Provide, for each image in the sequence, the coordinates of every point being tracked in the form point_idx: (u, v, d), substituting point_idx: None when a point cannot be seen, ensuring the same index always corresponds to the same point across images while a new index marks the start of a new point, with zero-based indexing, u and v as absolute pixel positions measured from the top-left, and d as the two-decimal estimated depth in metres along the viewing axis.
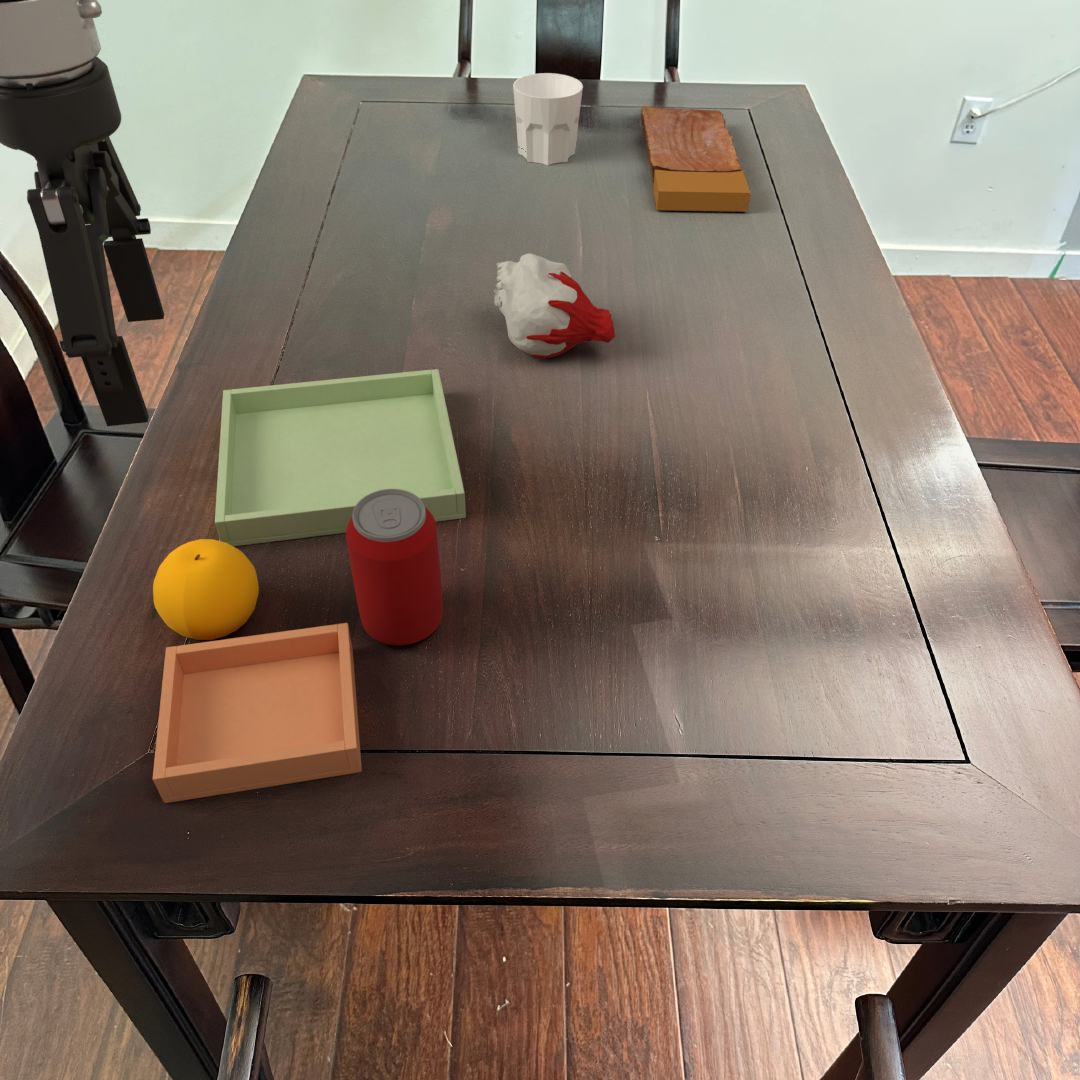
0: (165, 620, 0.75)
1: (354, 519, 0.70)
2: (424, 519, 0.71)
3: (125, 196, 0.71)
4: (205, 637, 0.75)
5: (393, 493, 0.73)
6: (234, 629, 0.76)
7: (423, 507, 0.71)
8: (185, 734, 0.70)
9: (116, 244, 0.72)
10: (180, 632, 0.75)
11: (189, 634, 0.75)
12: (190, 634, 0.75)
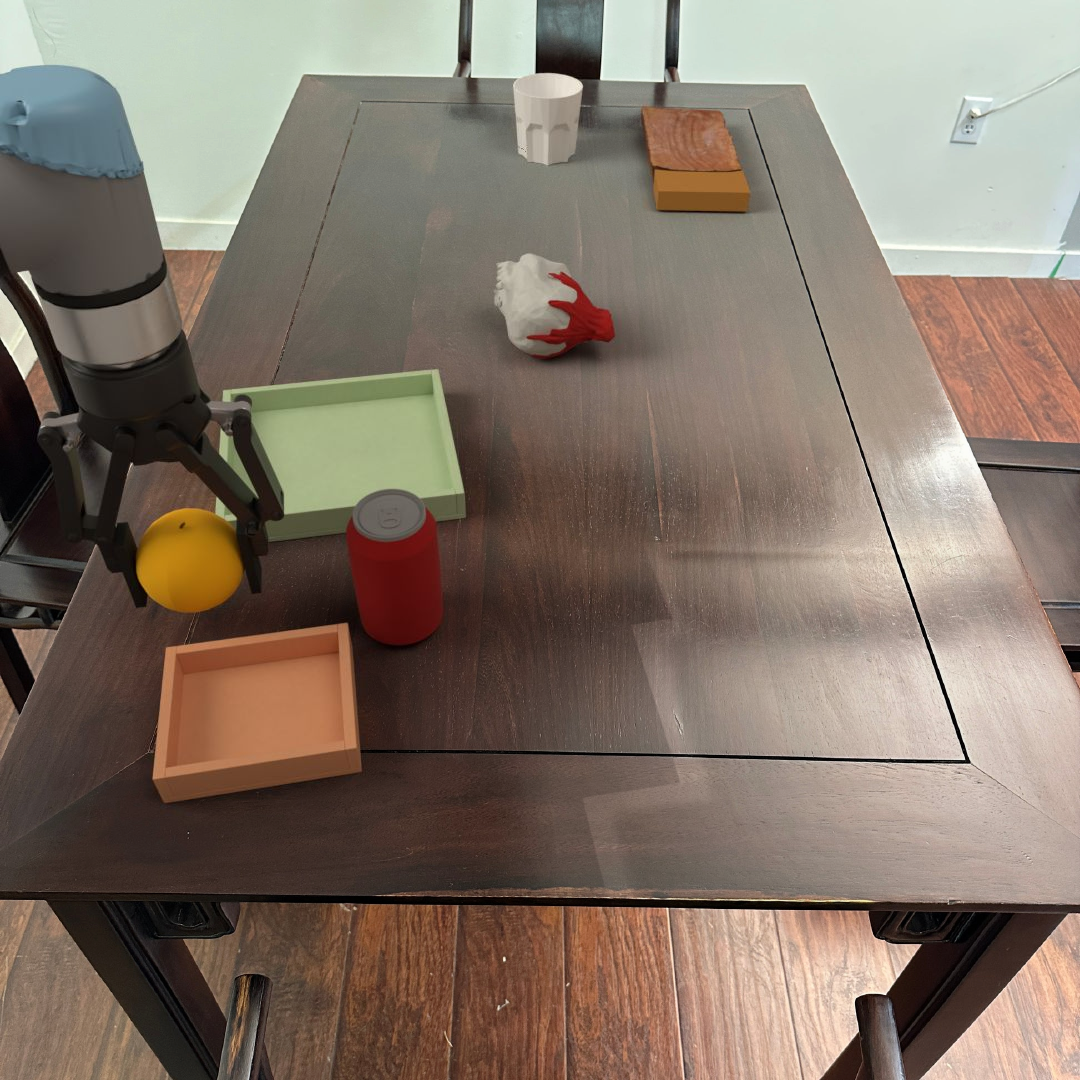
0: (148, 591, 0.72)
1: (354, 519, 0.70)
2: (424, 519, 0.71)
3: (83, 496, 0.69)
4: (189, 609, 0.73)
5: (393, 493, 0.73)
6: (219, 601, 0.73)
7: (423, 507, 0.71)
8: (185, 734, 0.70)
9: (124, 538, 0.71)
10: (163, 603, 0.72)
11: (172, 605, 0.72)
12: (174, 606, 0.72)
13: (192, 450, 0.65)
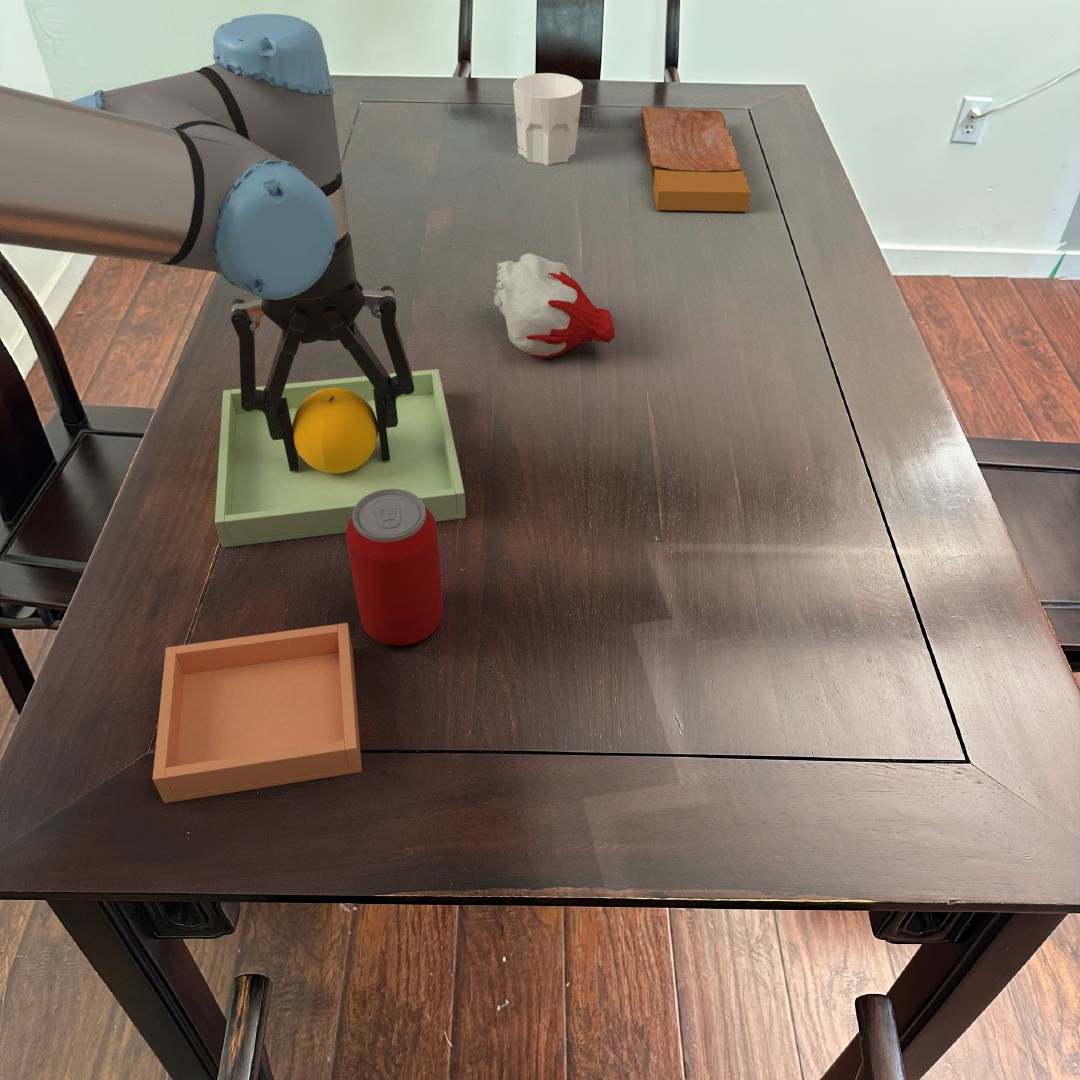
0: (303, 453, 0.88)
1: (354, 519, 0.70)
2: (424, 519, 0.71)
3: None
4: (336, 468, 0.89)
5: (393, 493, 0.73)
6: (359, 463, 0.90)
7: (423, 507, 0.71)
8: (185, 734, 0.70)
9: (285, 409, 0.87)
10: (316, 463, 0.89)
11: (324, 465, 0.88)
12: (325, 465, 0.88)
13: (349, 329, 0.82)
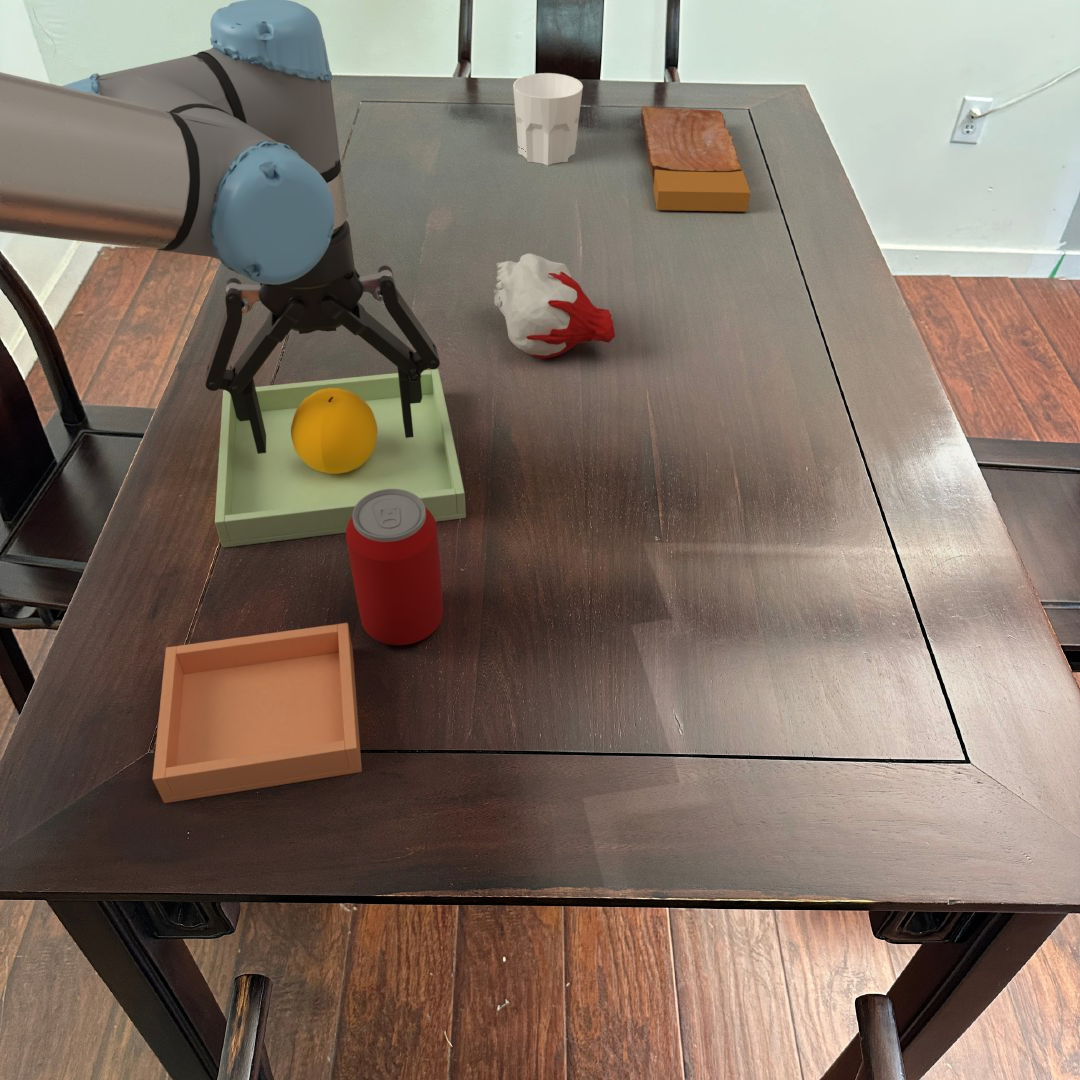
0: (302, 453, 0.88)
1: (354, 519, 0.70)
2: (424, 519, 0.71)
3: None
4: (335, 469, 0.89)
5: (393, 493, 0.73)
6: (358, 464, 0.90)
7: (423, 507, 0.71)
8: (185, 734, 0.70)
9: (252, 388, 0.85)
10: (315, 464, 0.89)
11: (323, 465, 0.88)
12: (324, 465, 0.88)
13: (351, 314, 0.81)
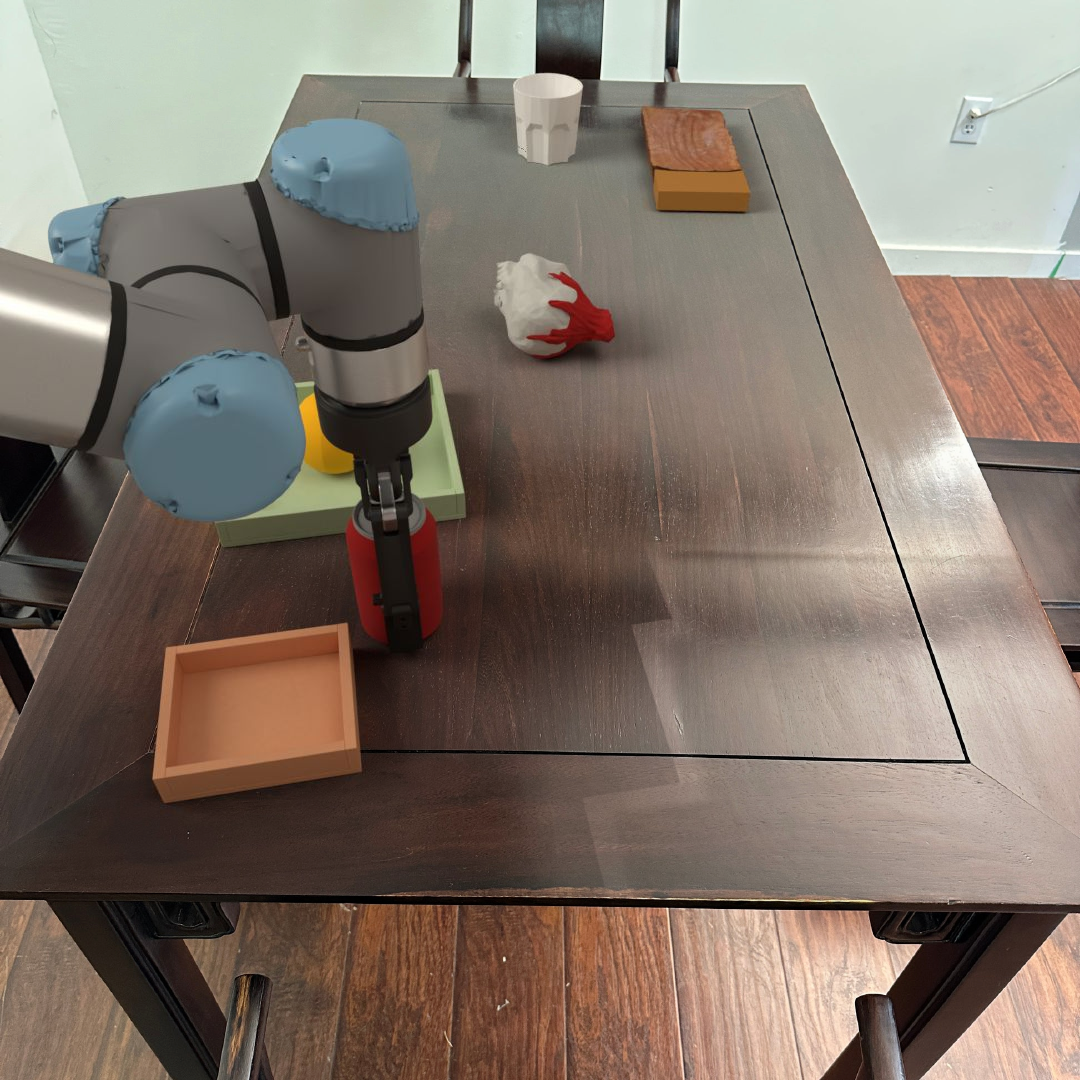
0: None
1: (354, 519, 0.70)
2: (424, 519, 0.71)
3: None
4: (335, 469, 0.89)
5: None
6: None
7: (423, 507, 0.71)
8: (185, 734, 0.70)
9: None
10: (315, 464, 0.89)
11: (323, 465, 0.88)
12: (324, 465, 0.88)
13: None
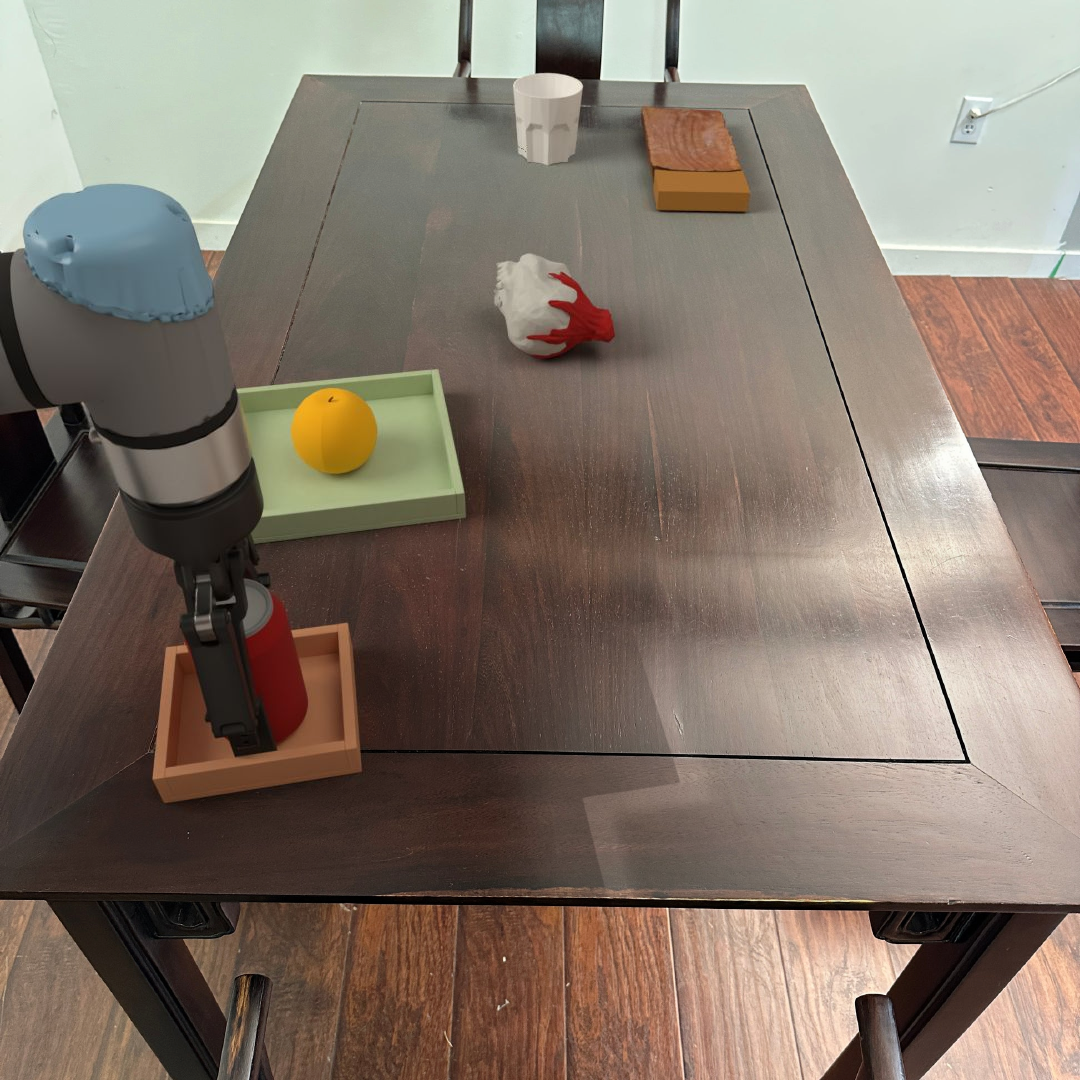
0: (302, 453, 0.88)
1: None
2: (269, 615, 0.63)
3: None
4: (335, 469, 0.89)
5: None
6: (358, 464, 0.90)
7: (270, 601, 0.64)
8: (185, 734, 0.70)
9: None
10: (315, 464, 0.89)
11: (323, 465, 0.88)
12: (324, 465, 0.88)
13: None
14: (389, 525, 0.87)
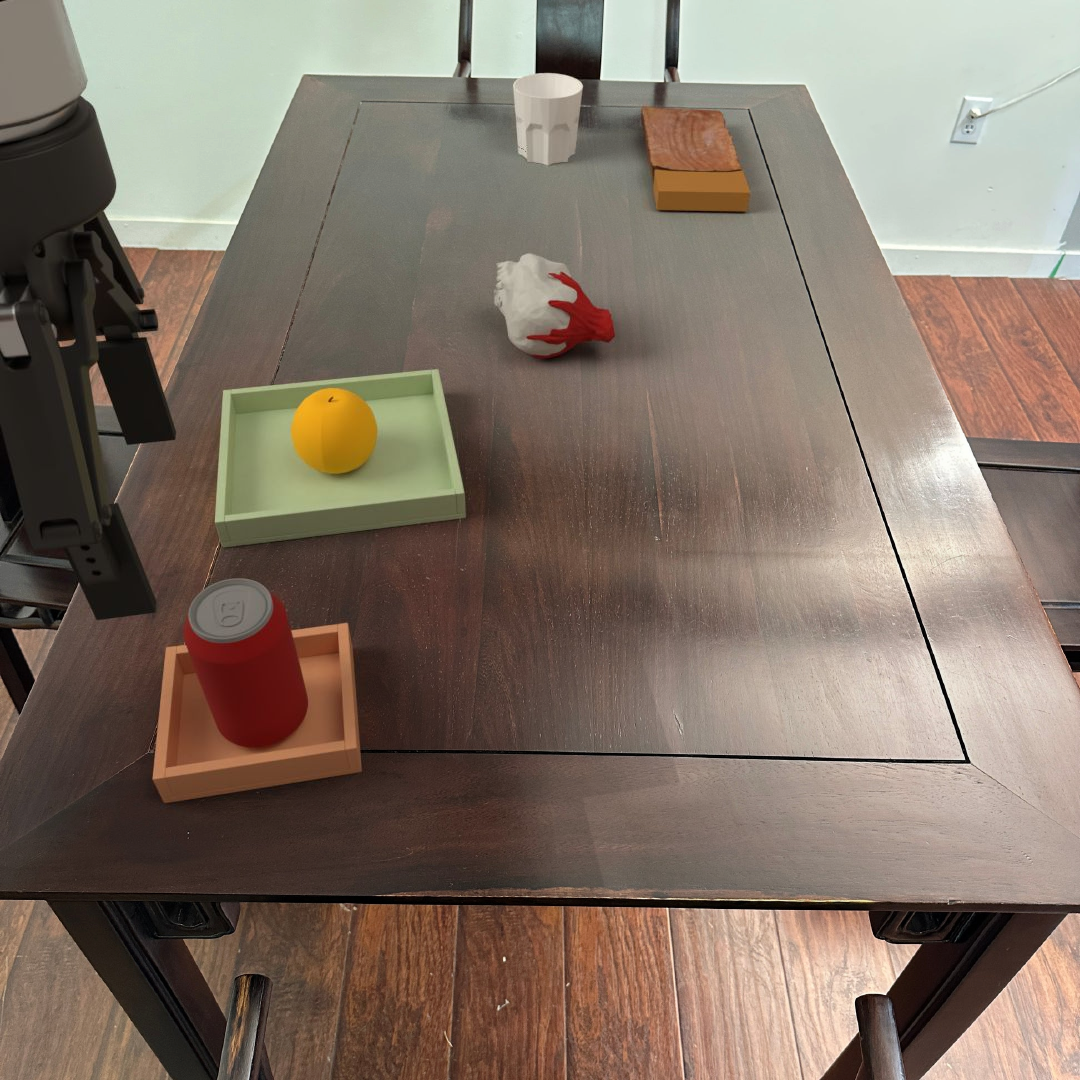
0: (302, 453, 0.88)
1: (190, 616, 0.63)
2: (269, 615, 0.63)
3: None
4: (335, 469, 0.89)
5: (240, 583, 0.65)
6: (358, 464, 0.90)
7: (270, 601, 0.64)
8: (185, 734, 0.70)
9: None
10: (315, 464, 0.89)
11: (323, 465, 0.88)
12: (324, 465, 0.88)
13: None
14: (389, 525, 0.87)
